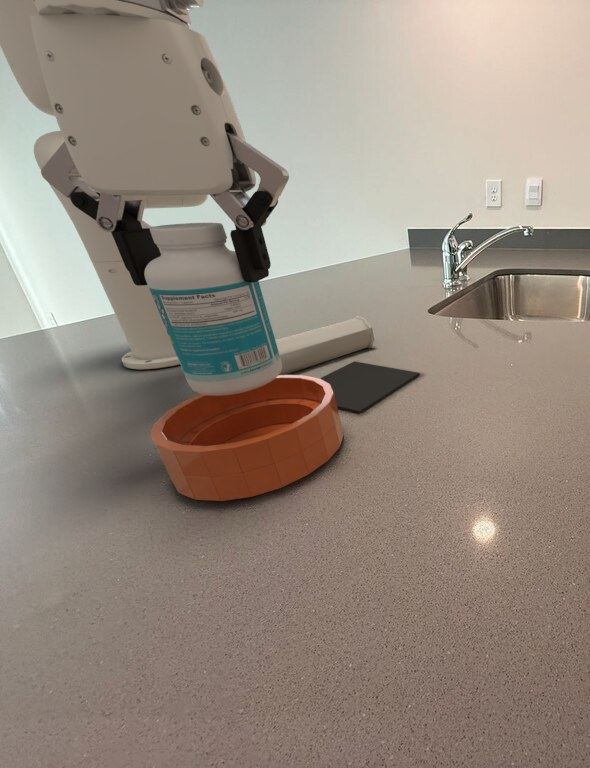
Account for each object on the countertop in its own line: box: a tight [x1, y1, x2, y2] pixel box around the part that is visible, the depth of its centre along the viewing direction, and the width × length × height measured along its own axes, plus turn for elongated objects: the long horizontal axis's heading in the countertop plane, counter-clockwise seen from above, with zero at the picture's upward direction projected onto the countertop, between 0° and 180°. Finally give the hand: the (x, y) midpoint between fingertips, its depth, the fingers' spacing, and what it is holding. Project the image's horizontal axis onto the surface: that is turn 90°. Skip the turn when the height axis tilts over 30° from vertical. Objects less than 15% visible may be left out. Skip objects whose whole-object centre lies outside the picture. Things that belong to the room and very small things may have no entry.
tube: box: [195, 315, 375, 395], centre depth 59 cm, size 5×5×25 cm
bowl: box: [149, 374, 344, 502], centre depth 39 cm, size 15×15×6 cm
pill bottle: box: [144, 222, 282, 396], centre depth 35 cm, size 8×7×14 cm
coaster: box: [319, 361, 421, 415], centre depth 55 cm, size 12×12×1 cm
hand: (205, 279), depth 34 cm, fingers closed on pill bottle, 7 cm apart
